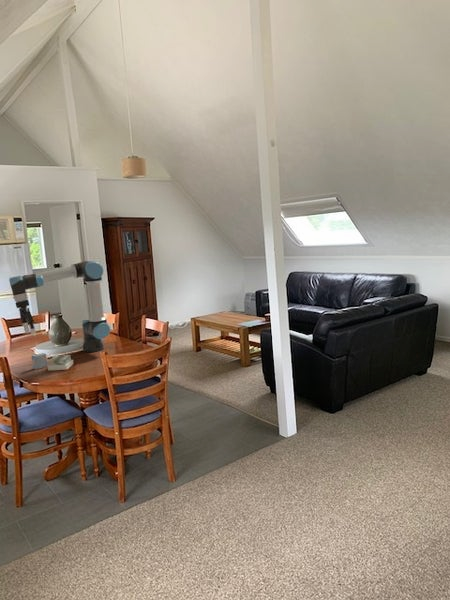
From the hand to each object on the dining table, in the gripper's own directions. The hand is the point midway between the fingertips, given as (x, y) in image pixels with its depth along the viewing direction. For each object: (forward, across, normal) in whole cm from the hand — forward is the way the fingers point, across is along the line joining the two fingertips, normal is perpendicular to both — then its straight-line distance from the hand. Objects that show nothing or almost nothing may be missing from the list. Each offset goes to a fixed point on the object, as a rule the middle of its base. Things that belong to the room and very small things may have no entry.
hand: (30, 333), depth 286 cm
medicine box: (+24, -3, +1) cm, 24 cm away
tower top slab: (+23, +7, +11) cm, 26 cm away
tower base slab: (+26, +7, +10) cm, 29 cm away
